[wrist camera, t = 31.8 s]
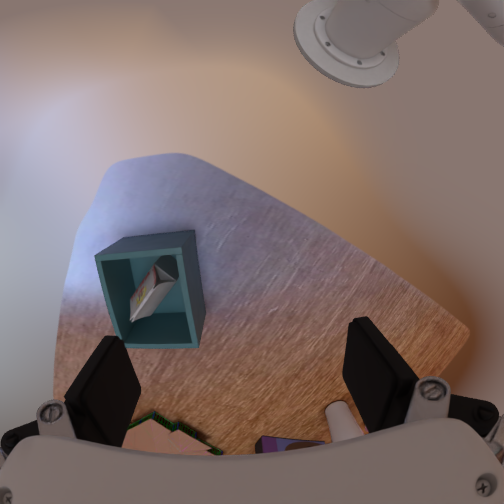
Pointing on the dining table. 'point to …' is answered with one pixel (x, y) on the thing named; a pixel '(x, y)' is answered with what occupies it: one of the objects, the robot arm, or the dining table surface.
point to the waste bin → (174, 303)
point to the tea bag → (154, 287)
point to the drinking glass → (341, 422)
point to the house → (164, 439)
